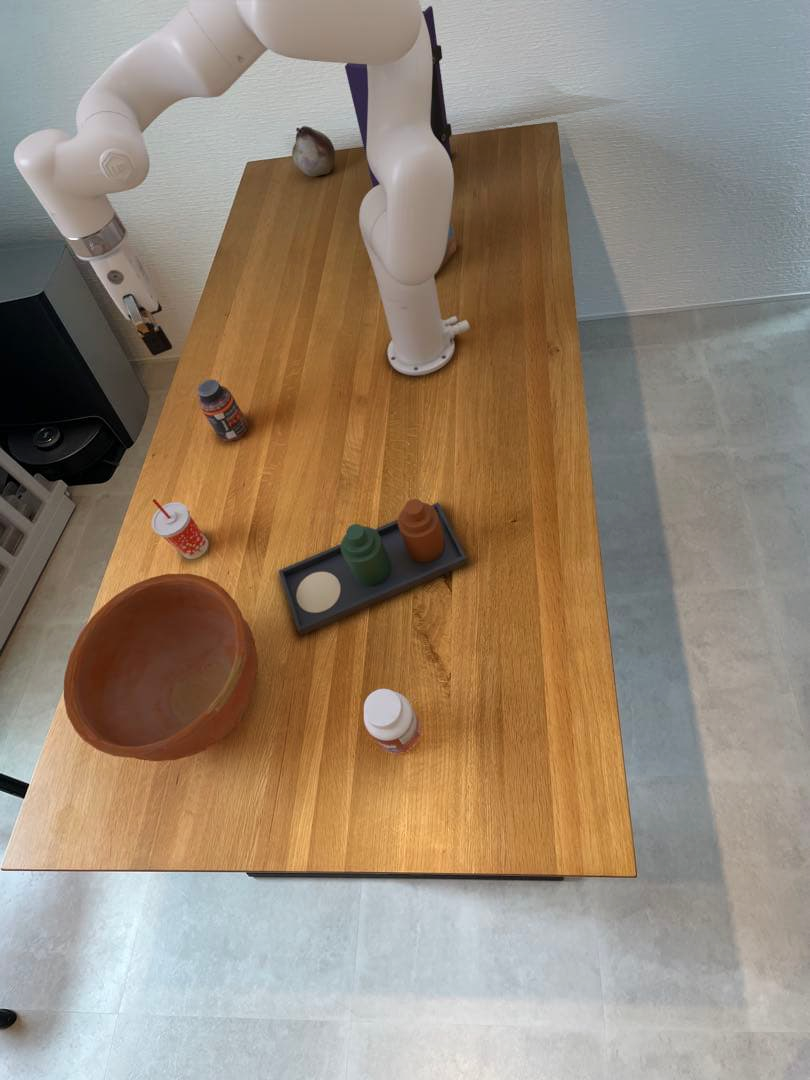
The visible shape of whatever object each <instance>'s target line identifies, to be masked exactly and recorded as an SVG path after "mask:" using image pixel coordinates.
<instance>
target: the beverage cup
mask: <svg viewBox="0 0 810 1080" xmlns="http://www.w3.org/2000/svg"><path fill="white" fill-rule="evenodd" d="M151 501H152V503H153V504H154V505H155V506H156V507H157V508H158V509H157V510H156V512H155V513H154V514H153V516H152V519H151V528H152V530H153V531H154V533H155V534H156V535H158V536H160V537H161V538H163V539H164V540H166V542H167V543H169V544H170V545H171V546H172V547H173V548H174V549H175V550H177V551H178V552H179V553H180V554H181V555H182V556H184V557H185V558H186V559H188V560H195V559H198V558H200V557H202V556H203V555H204V554H205V553H206V552H207V550H208V548H209V540H208V539H207V537H206V536H205V535H204V533H203V532H202V530H201V529H200V527H199V526H198V524H197V523H196V522H195V520H194V519H193V517H192V516H191V511H190V510H189V509H188V508H187V506H186V505H185V504H184V503H182V502H179V501H177V502H176V501H175V502H174V501H173V502H168V503H166V504H163V506H162V505H161V504H160V503H159V502H158V501H157V500H156V499H155V498H153V499H152V500H151Z"/></svg>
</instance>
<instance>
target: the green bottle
mask: <svg viewBox="0 0 810 1080" xmlns="http://www.w3.org/2000/svg"><path fill="white" fill-rule="evenodd" d="M340 544H341V552H342V554H343V556H344V558H345V560H346V562H347V564H348V565H349V567H350V569H351V571H352V573H353V575H354V577H355V579H356V580H357V581H358V582H359V583H360V584H362V585H365V586H375V585H378V584H381V583H382V582H384V581H385V580H386V579H387V578H388V576H389V575H390V572H391V561H390V559H389V557H388V554H387V552H386V549H385V547H384V545H383V542H382V540H381V538H380V535H379V534H378V532H377V531H376V530H375V529H374V528H373V527H370V526H364V525H362V524H358V523H354V524H351V525H350V526H348V527H347V529H346V532H345V535H344V536H343V538H342V539H341V542H340Z"/></svg>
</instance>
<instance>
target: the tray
mask: <svg viewBox="0 0 810 1080" xmlns="http://www.w3.org/2000/svg"><path fill="white" fill-rule="evenodd" d="M430 505H431V506H432V507H434V508H435V510H436V511H437V513H438V517H439V520H440V524H441V528H442V532H443V536H444V539H445V549H444V551H443V553H442V554H441V556H440V557H439V558H437V559H436V560H434V561H431V562H426V563H423V562H418V561H415V560H414V559H412V558H411V557H410V555H409V554H408V551H407V549H406V546H405V543H404V540H403V538H402V535H401V532H400V529H399V527H398V519H396V520H394V521H391V522H388V523H386V524H384V525H382V526H379V527H377V528H375V529H374V530H376V531H377V532H378V534H379V535H380V538H381V540H382V542H383V545H384V547H385V549H386V552H387V554H388V557H389V559H390V561H391V572H390V575H389V576H388V578H387V579H386V580H385V581H384V582H382V583H381V584H378V585H375V586H365V585H362V584H360V583H359V582H358V581H357V580H356V579H355V577H354V575H353V573H352V571H351V569H350V567H349V565H348V564H347V562H346V560H345V558H344V556H343V554H342V552H341V543H339V544H337V545H335V546H333V547H331V548H328V549H326V550H323V551H321V552H319V553H317V554H314V555H311V556H309V557H307V558H305V559H303V560H300V561H298V562H295V563H293V564H291V565H288V566H286V567H284V568H282V569H279V570H278V573H279V577H280V580H281V583H282V587H283V589H284V590H283V591H284V593H285V596H286V599H287V602H288V605H289V608H290V613H291V615H292V618H293V621H294V624H295V628H296V630H297V632H298V633H299V634H300V636H301V637H302V636H305V635H307V634H309V633H311V632H312V633H313V632H314V631H316V630H319V629H321V628H323V627H325V626H328V625H331V624H332V623H335V622H336V621H340V620H342V619H345V618H347V617H349V616H351V615H353V614H356V613H358V612H360V611H362V610H365V609H367V608H369V607H372V606H374V605H377V604H379V603H381V602H383V601H386V600H388V599H390V598H392V597H395V596H397V595H401V594H402V593H404V592H406V591H409V590H411V589H414V588H416V587H418V586H420V585H423V584H425V583H428V582H430V581H433V580H434V579H436V578H439V577H441V576H443V575H446V574H448V573H450V572H452V571H455V570H457V569H460V568H462V567H465V566H467V565H468V564H469V562H468V557H467V555H466V553H465V552H464V549H463V547H462V546H461V543H460V542H459V539H458V537H457V535H456V534H455V531H454V530H453V528H452V526H451V524H450V522H449V520H448V518H447V517H446V515H445V512H444V510H443V509H442V506H441V504H440V503H439V502H436V503H433V504H430ZM316 572H328V573H331V574H332V575H334V576H335V577H336V578H337V579H338V581H339V583H340V587H341V591H340V596H339V598H338V600H337V602H336V603H335V604H334V605H333V606H332V607H331V608H329V609H328V610H326V611H323V612H320V613H311V612H307V611H305V610H304V609H302V608H301V607H300V605H299V604H298V601H297V597H296V595H297V589H298V587H299V585H300V583H301V582H302V581H303V580H304V579H305V578H306V577H307V576H309V575H311V574H313V573H316Z"/></svg>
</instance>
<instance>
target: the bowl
mask: <svg viewBox="0 0 810 1080" xmlns="http://www.w3.org/2000/svg"><path fill="white" fill-rule="evenodd" d="M255 642H256V641H255V639H254V636H253V632H252V630H251V627H250V625H249V623H248V622H247V620H245V618H244V616H243V614H242V611H241V610H240V608H239V606H238V604H237V602H236V601H235V599H234V598H233V597H232V596H231V595H230V593H228V591H226V590H225V588H224V587H222V586H221V585H220V584H218V583H217V582H216V581H214V580H211V579H209V578H207V577H205V576H203V575H197V574H192V573H164V574H160V575H156V576H152V577H148V578H147V579H143V580H141V581H139V582H137V583H134V584H132V585H130V586H128V587H127V588H125V589H124V590H122V591H120V592H118V593H117V594H115V595H114V596H113V597H112V598H111V599H109V600H108V601H107V602H106V603H105V604H104V605H103V606H101V607H100V608H99V609H98V611H96V612H95V614H94V615H93V616H92V617H91V618H90V620H88V622H87V623H86V625H85V626H84V627H83V629H81V631H80V633H79V635H78V637H77V639H76V641H75V644H74V645H73V647H72V649H71V652H70V653H69V657H68V661H67V664H66V668H65V672H64V679H63V701H64V705H65V711H66V716H67V718H68V720H69V722H70V724H71V726H72V727H73V729H74V731H75V733H76V734H77V735H78V736H79V737H80V738H81V740H83V741H84V742H85V743H86V744H88V745H90V746H91V747H92V748H94V749H95V750H97V751H99V752H101V753H104V754H107V755H109V756H111V757H117V758H118V757H119V758H131V759H137V760H139V761H148V762H166V761H167V762H168V761H177V760H180V759H183V758H187V757H191V756H194V755H197V754H200V753H201V752H205V751H207V749H208V748H210V747H212V746H214V745H216V744H217V743H218V742H220V740H222V739H223V738H224V737H225V736H226V735H228V734H229V733H230V732H231V731H232V730H233V729H234V728H235V727H236V726H237V725H238V724H240V723H241V721H242V716H243V714H245V712H246V711H247V708H248V707H249V704H250V702H251V701H252V698H253V696H254V694H255V691H256V688H257V686H258V683H259V682H258V681H259V680H258V678H257V677H258V666H259V662H258V661H259V659H258V652H257V647H256V643H255Z"/></svg>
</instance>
